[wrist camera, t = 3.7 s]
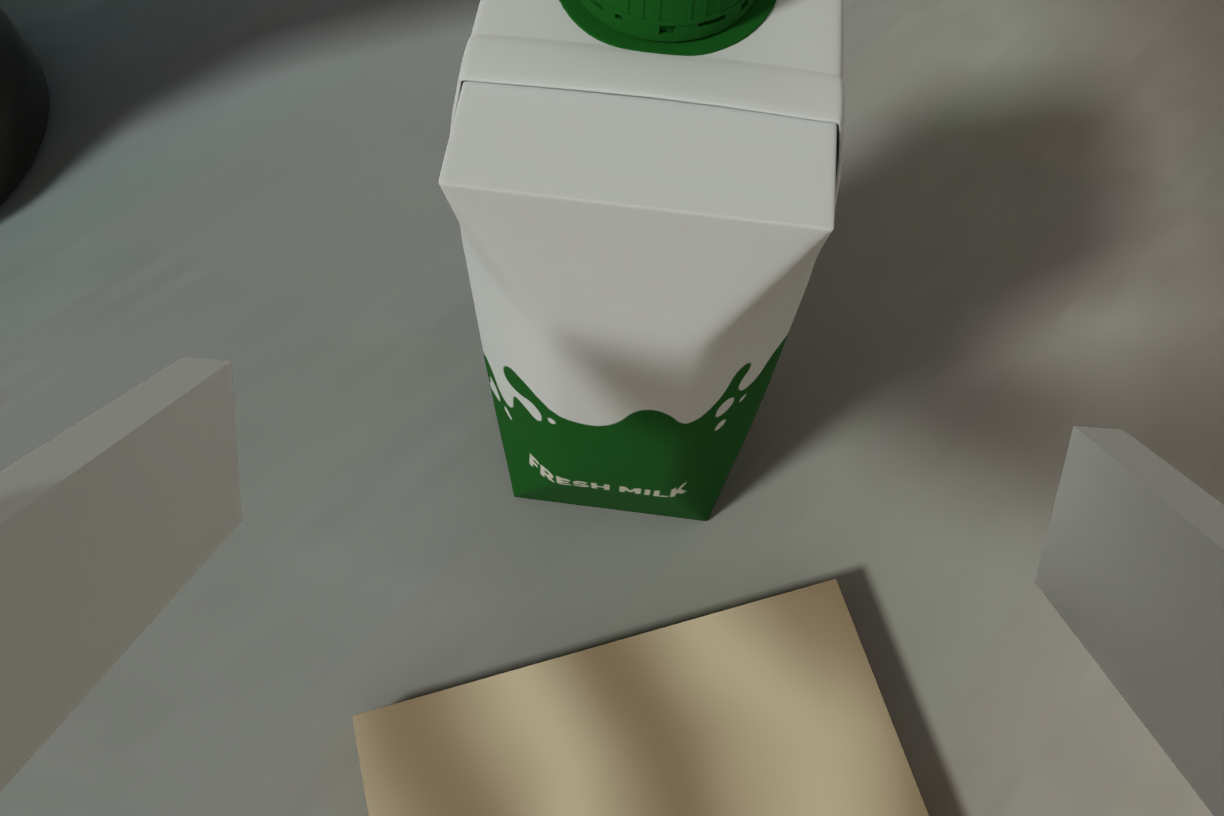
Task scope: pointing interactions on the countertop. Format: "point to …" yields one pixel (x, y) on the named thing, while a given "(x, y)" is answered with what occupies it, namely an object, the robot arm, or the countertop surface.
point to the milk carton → (641, 229)
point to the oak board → (658, 727)
